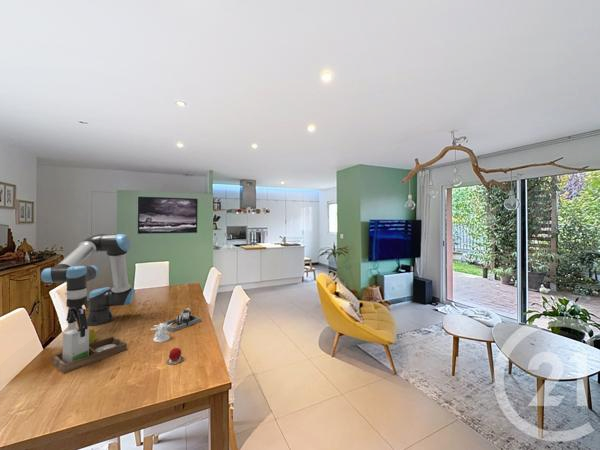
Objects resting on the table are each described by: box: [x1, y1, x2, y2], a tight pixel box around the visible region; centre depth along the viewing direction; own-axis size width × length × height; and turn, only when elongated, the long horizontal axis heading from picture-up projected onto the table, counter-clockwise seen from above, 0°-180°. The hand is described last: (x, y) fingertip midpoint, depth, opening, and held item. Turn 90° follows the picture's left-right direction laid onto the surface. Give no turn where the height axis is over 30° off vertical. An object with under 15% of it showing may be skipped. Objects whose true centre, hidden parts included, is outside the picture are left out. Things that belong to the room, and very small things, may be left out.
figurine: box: [150, 322, 172, 344], centre depth 150 cm, size 12×9×10 cm
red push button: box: [165, 347, 185, 365], centre depth 128 cm, size 8×8×6 cm
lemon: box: [89, 328, 97, 344], centre depth 144 cm, size 11×8×8 cm
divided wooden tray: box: [51, 335, 128, 374], centre depth 129 cm, size 16×26×4 cm, turn 148°
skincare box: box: [62, 327, 90, 364], centre depth 124 cm, size 8×7×16 cm
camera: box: [176, 307, 192, 327], centre depth 176 cm, size 16×9×10 cm, turn 20°
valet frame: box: [163, 314, 202, 333], centre depth 173 cm, size 14×21×2 cm, turn 148°
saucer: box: [96, 344, 116, 352], centre depth 135 cm, size 10×10×2 cm
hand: (76, 339), depth 124 cm, fingers open, 13 cm apart
